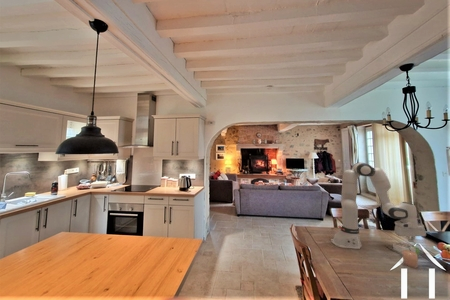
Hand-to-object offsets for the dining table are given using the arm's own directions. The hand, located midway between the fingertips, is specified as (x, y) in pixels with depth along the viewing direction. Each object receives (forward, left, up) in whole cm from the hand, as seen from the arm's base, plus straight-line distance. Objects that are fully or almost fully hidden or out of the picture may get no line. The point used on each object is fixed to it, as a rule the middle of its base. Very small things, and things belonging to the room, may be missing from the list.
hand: (410, 241), depth 136 cm
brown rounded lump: (-16, -16, -8) cm, 24 cm away
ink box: (+2, 0, -5) cm, 5 cm away
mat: (-6, 0, -8) cm, 10 cm away
